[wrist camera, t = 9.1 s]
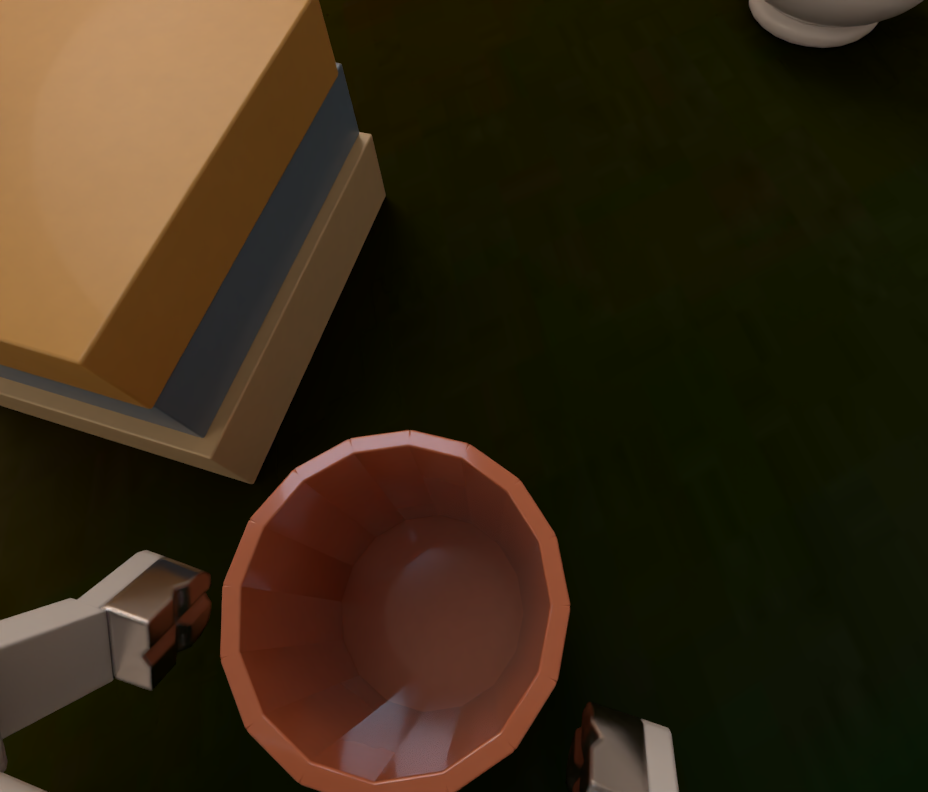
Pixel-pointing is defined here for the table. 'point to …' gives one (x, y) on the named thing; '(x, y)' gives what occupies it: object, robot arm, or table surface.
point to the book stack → (173, 217)
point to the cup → (394, 616)
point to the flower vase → (825, 19)
